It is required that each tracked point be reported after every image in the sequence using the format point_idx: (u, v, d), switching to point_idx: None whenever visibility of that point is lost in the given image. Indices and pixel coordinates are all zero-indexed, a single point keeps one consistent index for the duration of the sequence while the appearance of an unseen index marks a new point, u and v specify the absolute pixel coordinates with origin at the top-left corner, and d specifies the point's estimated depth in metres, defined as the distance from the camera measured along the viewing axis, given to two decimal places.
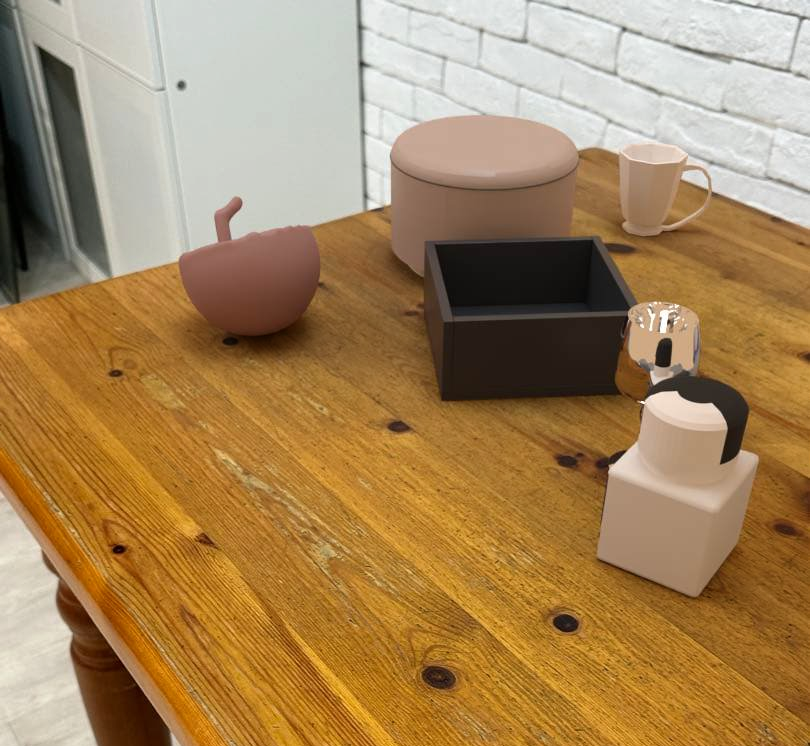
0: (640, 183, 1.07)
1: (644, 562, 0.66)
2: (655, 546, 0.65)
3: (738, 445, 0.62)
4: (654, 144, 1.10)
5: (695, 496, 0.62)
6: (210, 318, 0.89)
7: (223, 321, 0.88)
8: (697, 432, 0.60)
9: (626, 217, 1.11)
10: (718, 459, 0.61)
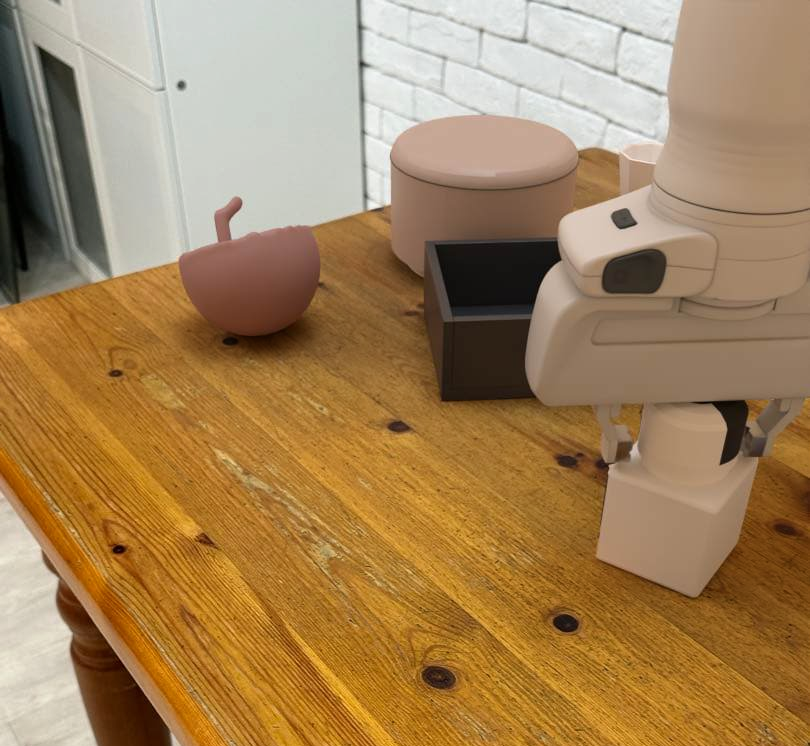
0: (640, 183, 1.07)
1: (643, 562, 0.66)
2: (654, 547, 0.65)
3: (738, 445, 0.62)
4: (654, 144, 1.10)
5: (695, 497, 0.62)
6: (210, 318, 0.89)
7: (223, 321, 0.88)
8: (696, 432, 0.60)
9: None
10: (718, 460, 0.61)
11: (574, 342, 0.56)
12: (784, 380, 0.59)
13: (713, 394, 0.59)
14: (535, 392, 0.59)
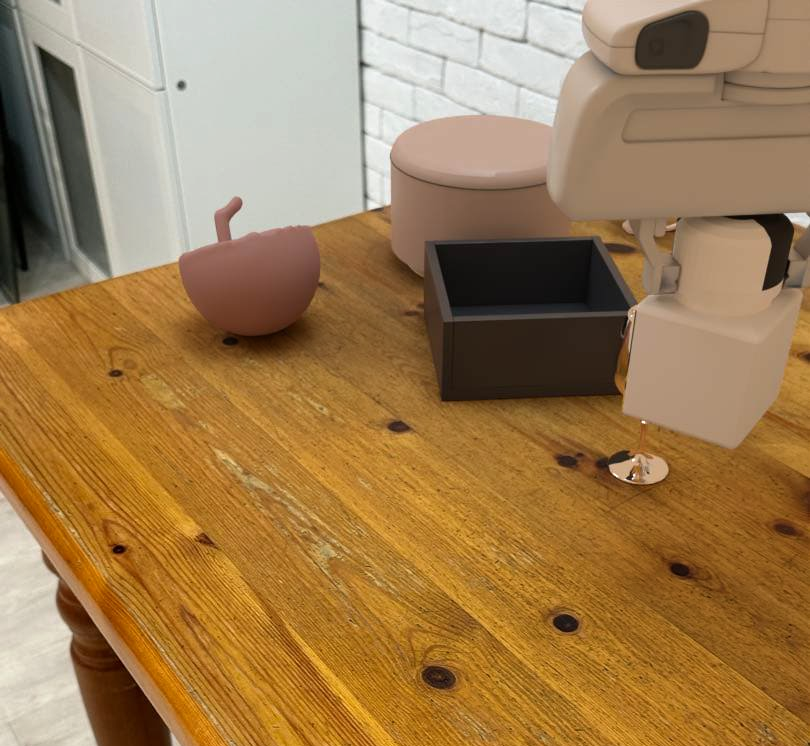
0: None
1: (676, 412, 0.59)
2: (688, 392, 0.58)
3: (782, 269, 0.55)
4: None
5: (735, 327, 0.55)
6: (210, 318, 0.89)
7: (223, 321, 0.88)
8: (737, 249, 0.53)
9: None
10: (761, 284, 0.54)
11: (602, 138, 0.50)
12: None
13: (759, 205, 0.53)
14: (559, 204, 0.52)
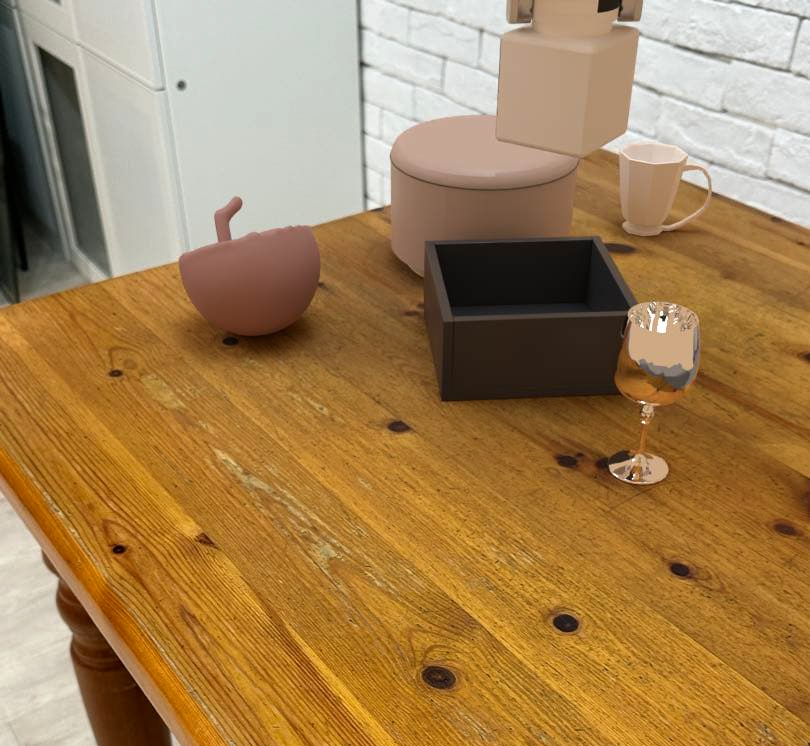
0: (640, 183, 1.07)
1: (536, 129, 0.72)
2: (544, 108, 0.71)
3: None
4: (654, 144, 1.10)
5: (576, 43, 0.68)
6: (210, 318, 0.89)
7: (223, 321, 0.88)
8: None
9: (626, 217, 1.11)
10: (596, 6, 0.68)
11: None
12: None
13: None
14: None
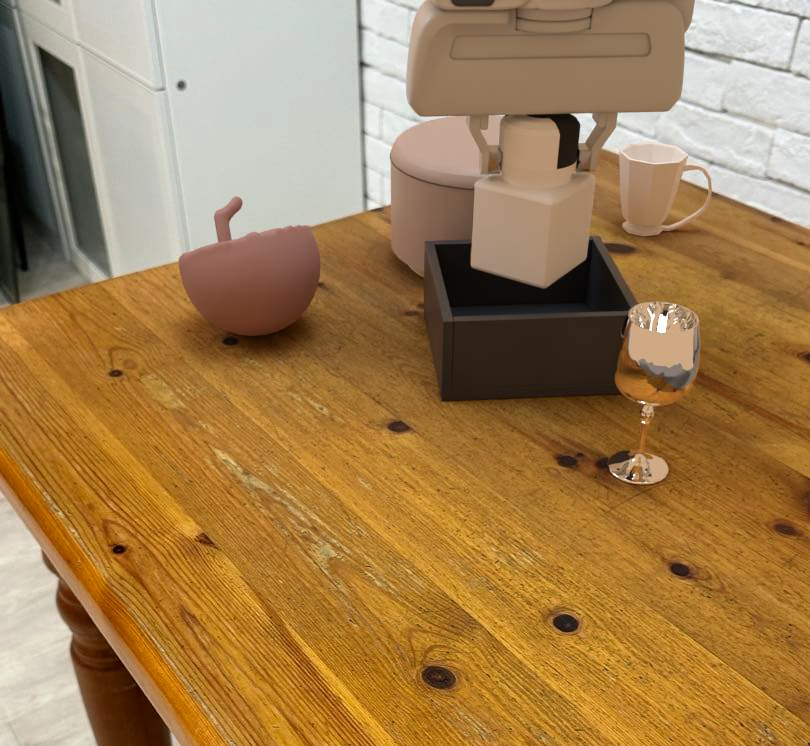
0: (640, 183, 1.07)
1: (505, 262, 0.83)
2: (512, 246, 0.82)
3: (572, 154, 0.78)
4: (654, 144, 1.10)
5: (538, 195, 0.78)
6: (210, 318, 0.89)
7: (223, 321, 0.88)
8: (535, 137, 0.77)
9: (626, 217, 1.11)
10: (555, 164, 0.78)
11: (436, 55, 0.73)
12: (605, 94, 0.76)
13: (550, 106, 0.76)
14: (410, 103, 0.75)
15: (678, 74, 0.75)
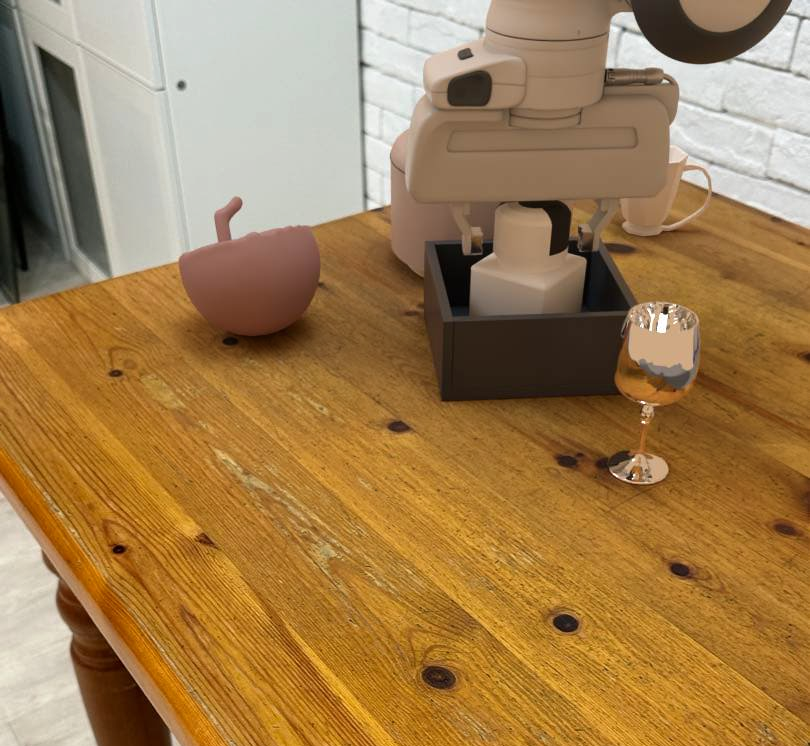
0: None
1: None
2: None
3: (563, 242, 0.83)
4: None
5: (531, 280, 0.83)
6: (210, 318, 0.89)
7: (223, 321, 0.88)
8: (529, 227, 0.81)
9: (626, 217, 1.11)
10: (548, 251, 0.82)
11: (434, 149, 0.77)
12: (594, 182, 0.80)
13: (542, 194, 0.80)
14: (409, 191, 0.80)
15: (664, 164, 0.79)
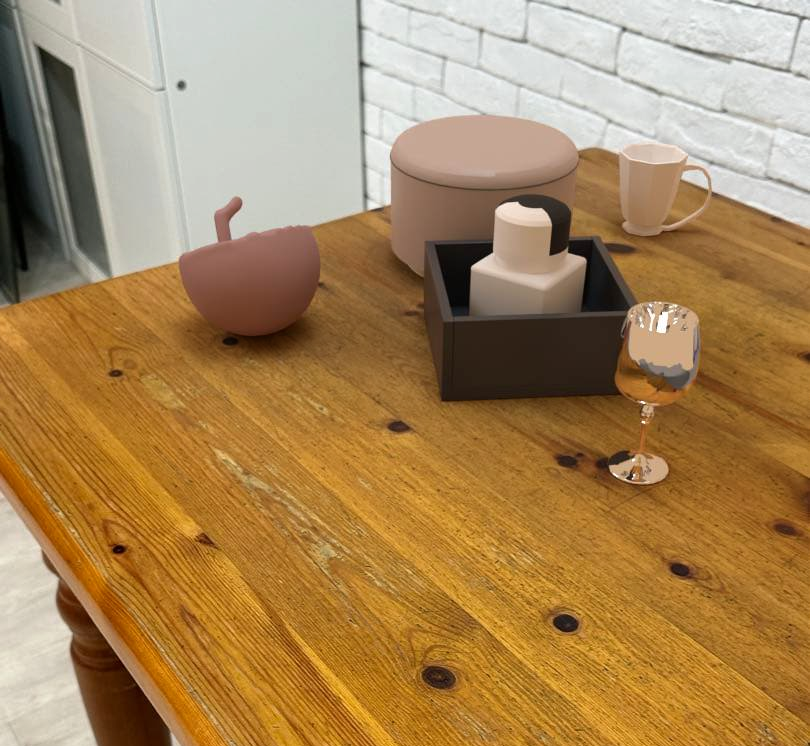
0: (640, 183, 1.07)
1: None
2: None
3: (563, 242, 0.83)
4: (654, 144, 1.10)
5: (531, 280, 0.83)
6: (210, 318, 0.89)
7: (223, 321, 0.88)
8: (529, 227, 0.81)
9: (626, 217, 1.11)
10: (548, 251, 0.82)
11: None
12: None
13: None
14: None
15: None
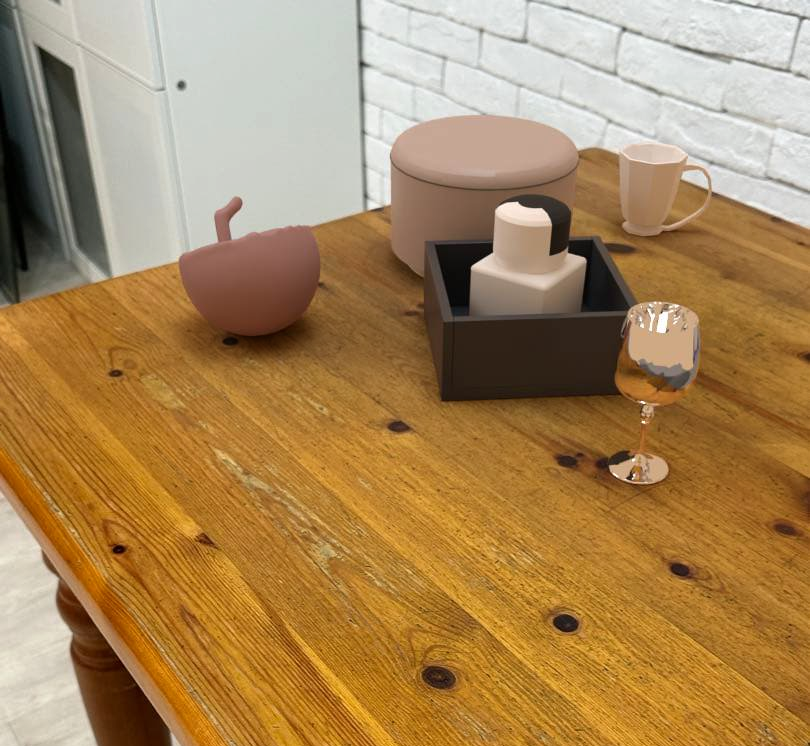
0: (640, 183, 1.07)
1: None
2: None
3: (563, 242, 0.83)
4: (654, 144, 1.10)
5: (531, 280, 0.83)
6: (210, 318, 0.89)
7: (223, 321, 0.88)
8: (529, 227, 0.81)
9: (626, 217, 1.11)
10: (548, 251, 0.82)
11: None
12: None
13: None
14: None
15: None
